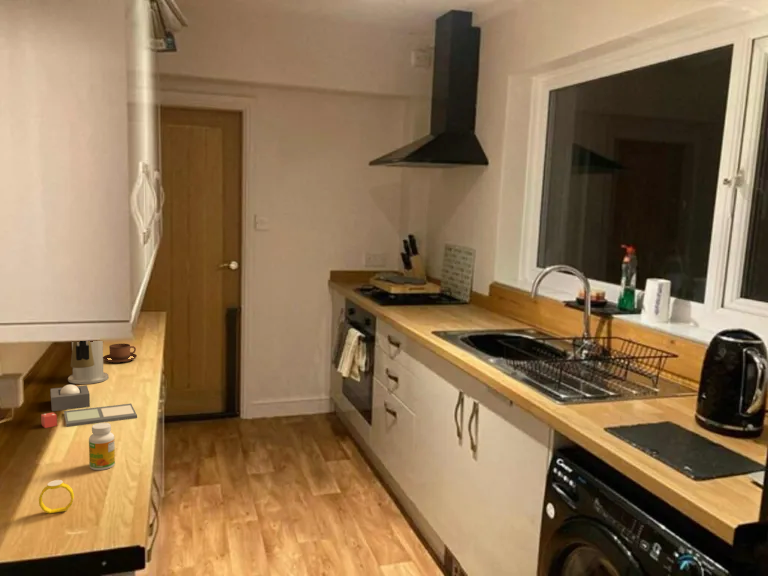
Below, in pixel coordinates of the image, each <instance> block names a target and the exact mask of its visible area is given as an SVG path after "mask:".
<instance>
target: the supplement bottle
mask: <svg viewBox="0 0 768 576" xmlns="http://www.w3.org/2000/svg"><path fill="white" fill-rule="evenodd" d="M111 425H112V424H111V423H108V422H101V423H94V424H92V426H91V433H92V434H90V436H89V438H88V451H89V452H88V457H89V459H88V460H89V461H88V462H89V468H90V469H91V470H94V471H105V470H108V469H112V468H113V467H114V466H115V464H116V458H115V457H116V454H115V453H116V451H115V448H116V447H115V445H116V443H115V435H114V433H112V426H111Z"/></svg>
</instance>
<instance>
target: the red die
mask: <svg viewBox="0 0 768 576" xmlns="http://www.w3.org/2000/svg"><path fill="white" fill-rule="evenodd" d="M40 418H41V426H42V427H43V428H45V429H47V428H53V427H57V426H58V415H57V414H56V413H55V412H54V411H52V412H47V413H41V415H40Z"/></svg>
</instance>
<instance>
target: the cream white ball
mask: <svg viewBox="0 0 768 576" xmlns="http://www.w3.org/2000/svg"><path fill="white" fill-rule="evenodd" d="M77 386H78V385H75V384H72V383H70V384H66V385H64V386H63V387H61V388H62V389H61V391H60V395H65V394H74V393H80V391H79V389H78V387H77Z"/></svg>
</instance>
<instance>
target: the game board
mask: <svg viewBox="0 0 768 576" xmlns="http://www.w3.org/2000/svg"><path fill="white" fill-rule="evenodd" d="M133 406H134V405H133V404H132V403H124V404H123V403H122V404H117V405H116V404H114V405H106V406H98V407H97V406H96V407H86V408H77V409H69V410H63V414H64V420H65V421H64V422H65V426H66V427H67V428H68V427H74V426H77V427H78V426H84V425H90V424H92V425H94V424H98V423H108V422H115V421H125V420H129V419H131V420H132V419H138V415H137V413H136V410H135V408H134V407H133Z"/></svg>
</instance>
